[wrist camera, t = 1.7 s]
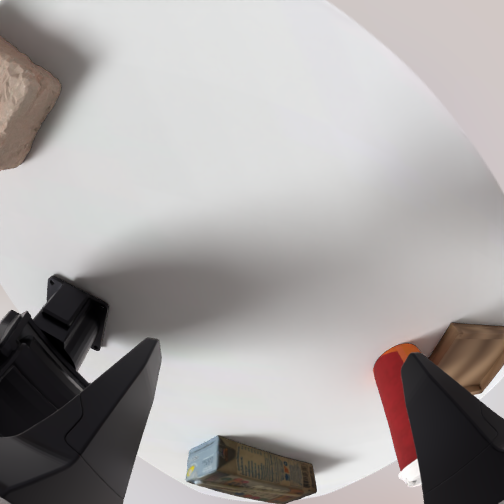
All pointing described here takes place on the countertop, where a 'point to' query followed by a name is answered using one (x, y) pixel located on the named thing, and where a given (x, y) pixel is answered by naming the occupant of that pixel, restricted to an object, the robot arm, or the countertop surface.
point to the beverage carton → (249, 472)
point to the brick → (22, 103)
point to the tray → (471, 354)
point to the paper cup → (398, 409)
